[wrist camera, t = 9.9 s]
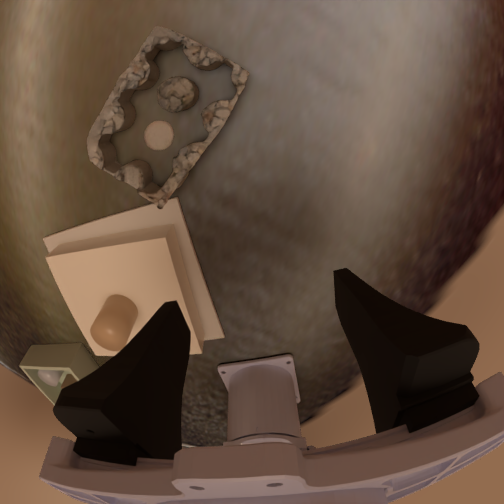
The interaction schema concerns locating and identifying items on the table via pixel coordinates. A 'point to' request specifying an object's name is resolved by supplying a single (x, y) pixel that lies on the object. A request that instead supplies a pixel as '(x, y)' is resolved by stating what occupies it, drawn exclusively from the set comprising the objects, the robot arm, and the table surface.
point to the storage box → (57, 366)
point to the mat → (145, 219)
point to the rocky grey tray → (171, 99)
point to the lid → (123, 285)
